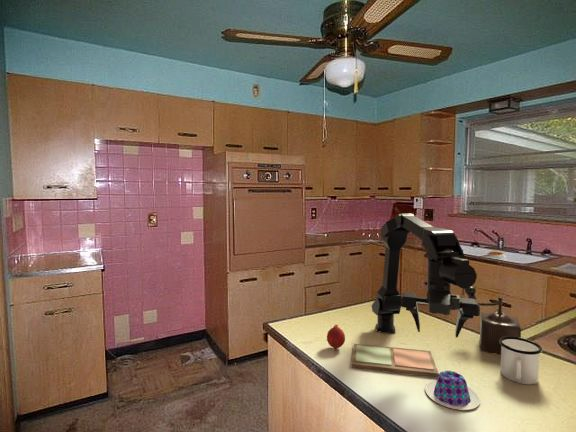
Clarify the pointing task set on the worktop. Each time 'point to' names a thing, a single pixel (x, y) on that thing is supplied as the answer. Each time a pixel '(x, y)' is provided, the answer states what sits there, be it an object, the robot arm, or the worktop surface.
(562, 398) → the worktop surface
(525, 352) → the mug
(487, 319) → the brown coffee grinder
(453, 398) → the pudding
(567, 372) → the worktop surface
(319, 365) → the worktop surface
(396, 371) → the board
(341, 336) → the onion
